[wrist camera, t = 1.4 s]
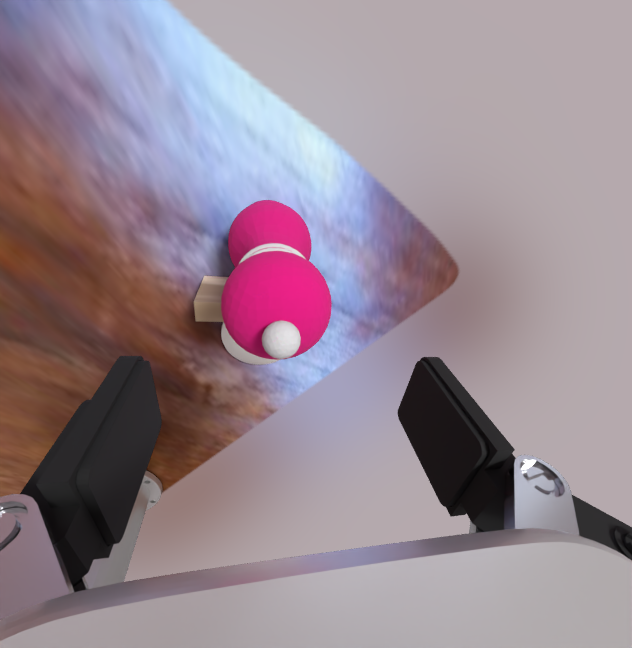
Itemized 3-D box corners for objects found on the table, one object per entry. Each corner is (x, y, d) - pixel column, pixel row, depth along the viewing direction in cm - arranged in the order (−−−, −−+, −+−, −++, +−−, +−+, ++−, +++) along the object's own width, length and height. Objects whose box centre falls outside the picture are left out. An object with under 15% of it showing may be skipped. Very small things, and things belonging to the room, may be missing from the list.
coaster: (294, 361, 39) (294, 364, 38) (223, 361, 37) (222, 365, 36) (300, 300, 34) (301, 303, 34) (220, 297, 32) (219, 300, 32)
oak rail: (313, 297, 34) (323, 324, 29) (205, 292, 32) (195, 321, 27) (316, 281, 33) (326, 306, 28) (204, 275, 31) (193, 301, 26)
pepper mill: (295, 272, 32) (335, 413, 15) (227, 259, 30) (189, 404, 13) (312, 205, 29) (387, 291, 12) (237, 185, 27) (201, 254, 10)
